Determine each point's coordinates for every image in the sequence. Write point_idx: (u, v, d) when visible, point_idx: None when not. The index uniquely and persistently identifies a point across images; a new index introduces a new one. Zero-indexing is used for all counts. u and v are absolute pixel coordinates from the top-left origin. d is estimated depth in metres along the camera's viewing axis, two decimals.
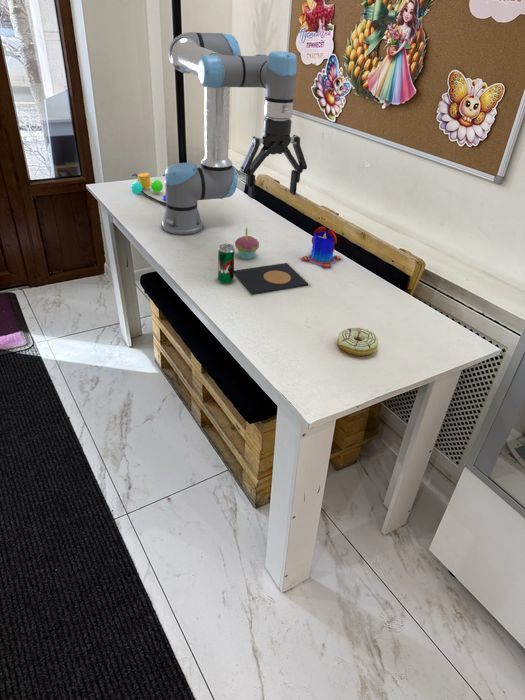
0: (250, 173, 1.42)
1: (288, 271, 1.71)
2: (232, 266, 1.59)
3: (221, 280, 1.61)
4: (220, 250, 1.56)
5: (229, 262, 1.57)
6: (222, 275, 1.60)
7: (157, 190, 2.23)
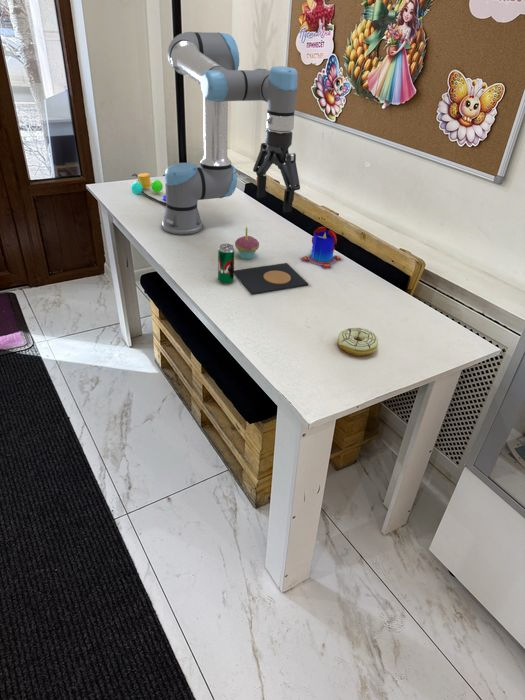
0: (256, 173, 1.54)
1: (288, 271, 1.71)
2: (232, 266, 1.59)
3: (221, 280, 1.61)
4: (220, 250, 1.56)
5: (229, 262, 1.57)
6: (222, 275, 1.60)
7: (157, 190, 2.23)
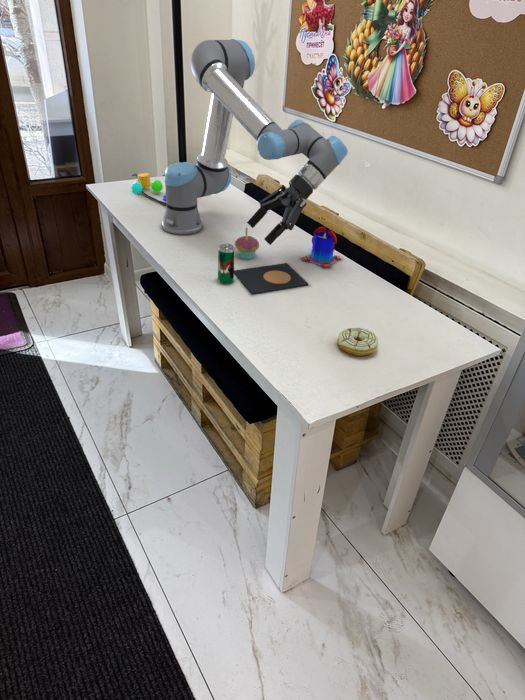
0: (261, 205, 1.62)
1: (288, 271, 1.71)
2: (232, 266, 1.59)
3: (221, 280, 1.61)
4: (220, 250, 1.56)
5: (229, 262, 1.57)
6: (222, 275, 1.60)
7: (157, 190, 2.23)
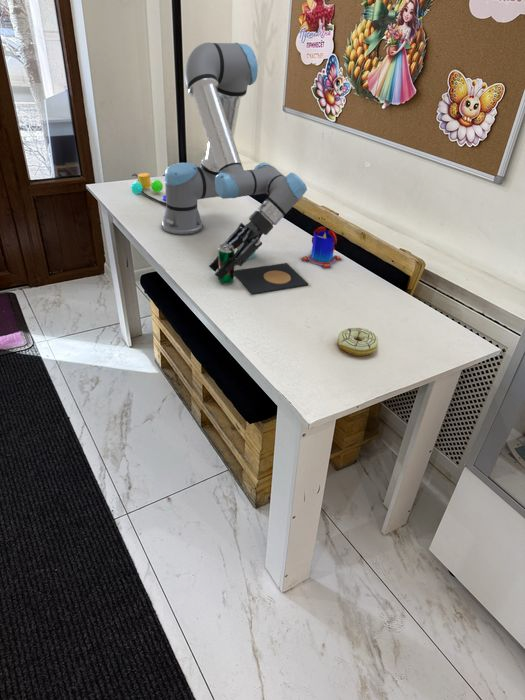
0: None
1: (288, 271, 1.71)
2: None
3: (221, 280, 1.61)
4: (220, 250, 1.56)
5: None
6: None
7: (157, 190, 2.23)
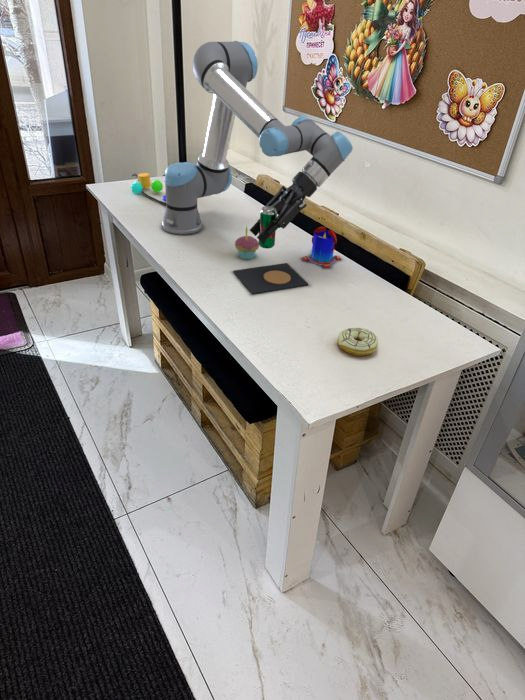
0: None
1: (288, 271, 1.71)
2: None
3: (262, 244, 1.57)
4: (262, 212, 1.51)
5: None
6: None
7: (157, 190, 2.23)
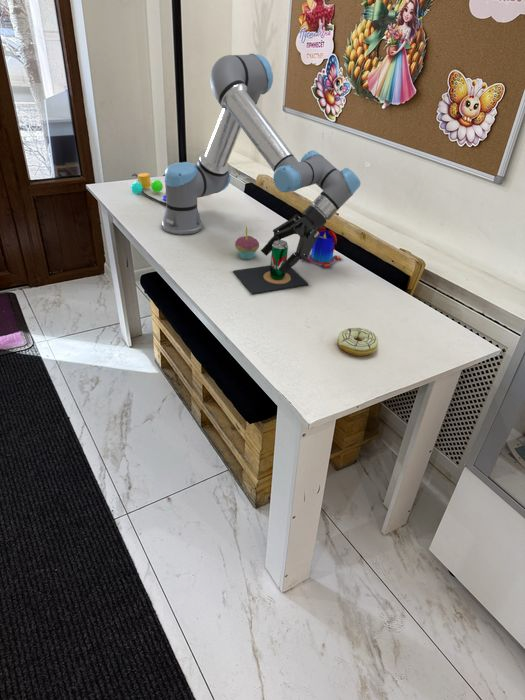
0: (275, 233, 1.66)
1: (288, 271, 1.71)
2: None
3: (273, 276, 1.64)
4: (274, 246, 1.58)
5: (282, 258, 1.60)
6: (275, 271, 1.63)
7: (157, 190, 2.23)
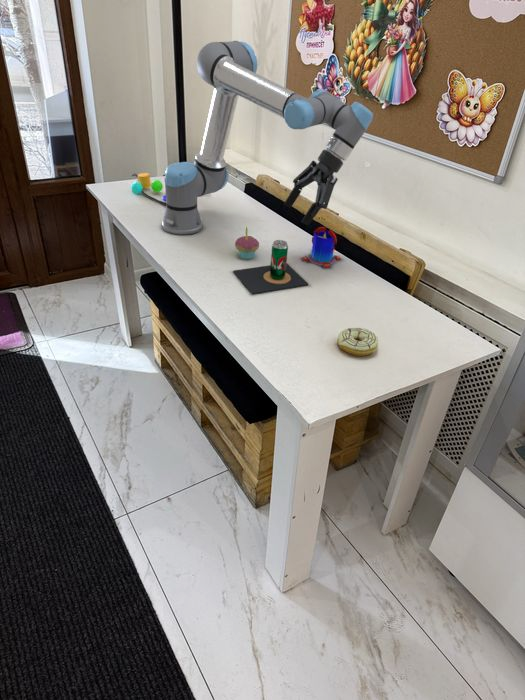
0: (295, 184, 1.64)
1: (288, 271, 1.71)
2: (285, 262, 1.62)
3: (273, 276, 1.64)
4: (274, 246, 1.58)
5: (282, 258, 1.60)
6: (275, 271, 1.63)
7: (157, 190, 2.23)
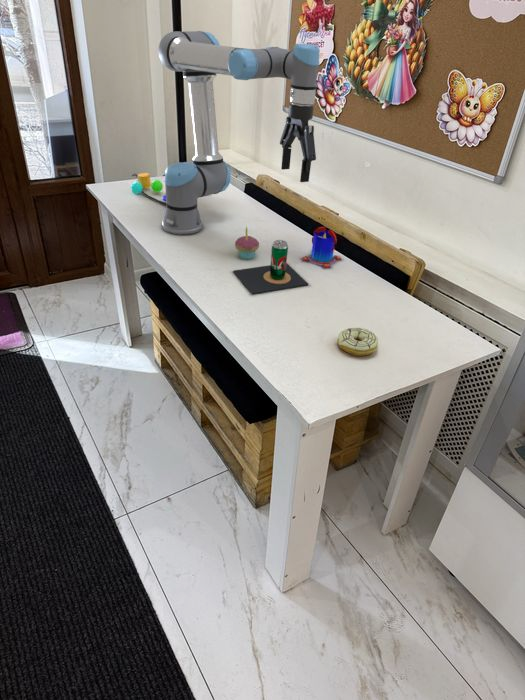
0: (282, 145, 1.66)
1: (288, 271, 1.71)
2: (285, 262, 1.62)
3: (273, 276, 1.64)
4: (274, 246, 1.58)
5: (282, 258, 1.60)
6: (275, 271, 1.63)
7: (157, 190, 2.23)
